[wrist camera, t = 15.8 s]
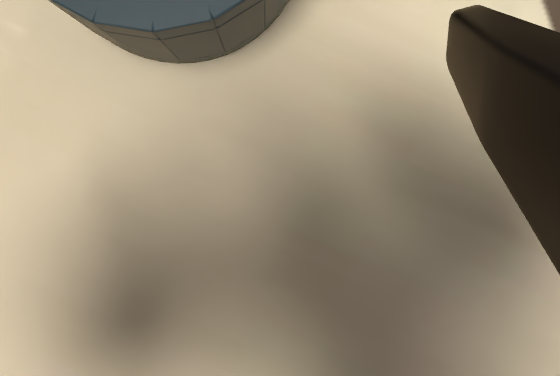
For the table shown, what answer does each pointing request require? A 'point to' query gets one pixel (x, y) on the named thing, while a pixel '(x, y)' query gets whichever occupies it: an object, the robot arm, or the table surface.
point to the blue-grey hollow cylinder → (175, 25)
